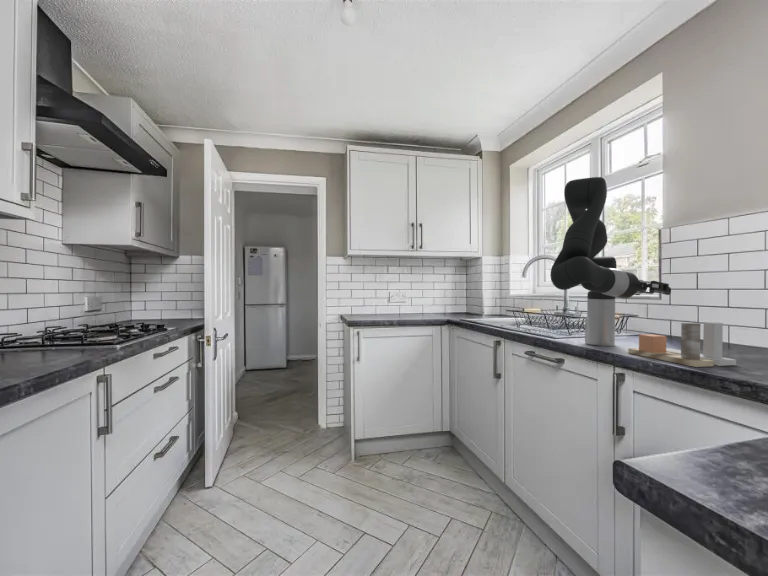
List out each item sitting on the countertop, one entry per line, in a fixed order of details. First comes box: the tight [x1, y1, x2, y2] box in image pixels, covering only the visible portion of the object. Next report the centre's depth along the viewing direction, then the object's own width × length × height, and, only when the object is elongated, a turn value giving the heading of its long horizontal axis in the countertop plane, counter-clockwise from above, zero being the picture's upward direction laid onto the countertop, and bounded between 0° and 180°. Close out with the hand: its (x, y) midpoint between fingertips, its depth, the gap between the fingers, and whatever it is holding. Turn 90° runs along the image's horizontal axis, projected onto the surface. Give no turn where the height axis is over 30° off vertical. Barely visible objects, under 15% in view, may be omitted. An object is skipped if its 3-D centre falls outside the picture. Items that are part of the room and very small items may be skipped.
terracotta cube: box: [638, 333, 668, 353], centre depth 121 cm, size 5×5×5 cm
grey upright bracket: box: [666, 321, 737, 367], centre depth 118 cm, size 22×6×12 cm, turn 13°
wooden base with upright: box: [627, 322, 715, 368], centre depth 116 cm, size 22×6×12 cm, turn 13°
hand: (653, 291), depth 113 cm, fingers open, 8 cm apart
